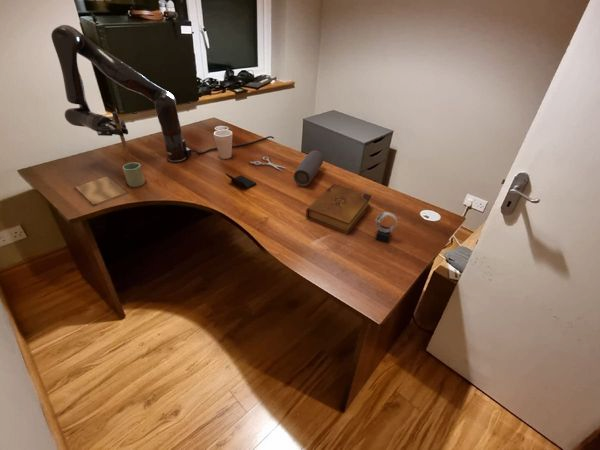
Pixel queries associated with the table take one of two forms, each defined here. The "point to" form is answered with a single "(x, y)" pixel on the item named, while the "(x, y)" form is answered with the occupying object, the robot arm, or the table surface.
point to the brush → (121, 136)
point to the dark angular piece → (242, 181)
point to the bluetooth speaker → (308, 168)
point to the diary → (338, 208)
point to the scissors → (266, 163)
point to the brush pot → (133, 174)
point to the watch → (382, 230)
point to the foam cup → (224, 143)
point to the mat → (100, 190)
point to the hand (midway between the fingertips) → (124, 132)
